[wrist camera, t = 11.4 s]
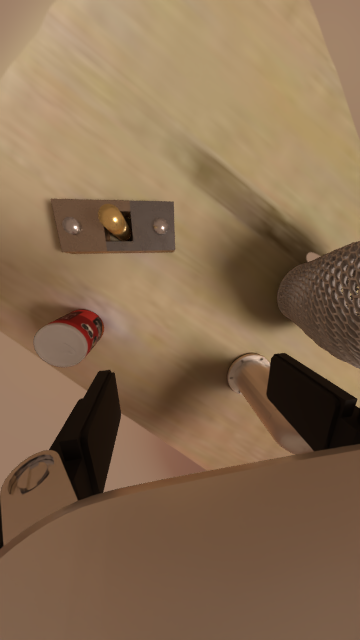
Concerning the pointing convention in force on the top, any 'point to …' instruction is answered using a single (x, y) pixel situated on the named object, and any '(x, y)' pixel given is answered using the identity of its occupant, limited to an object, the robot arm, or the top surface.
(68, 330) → the canned food
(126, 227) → the pin
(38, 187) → the top surface
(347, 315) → the vase
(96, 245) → the bolted slotted plate
